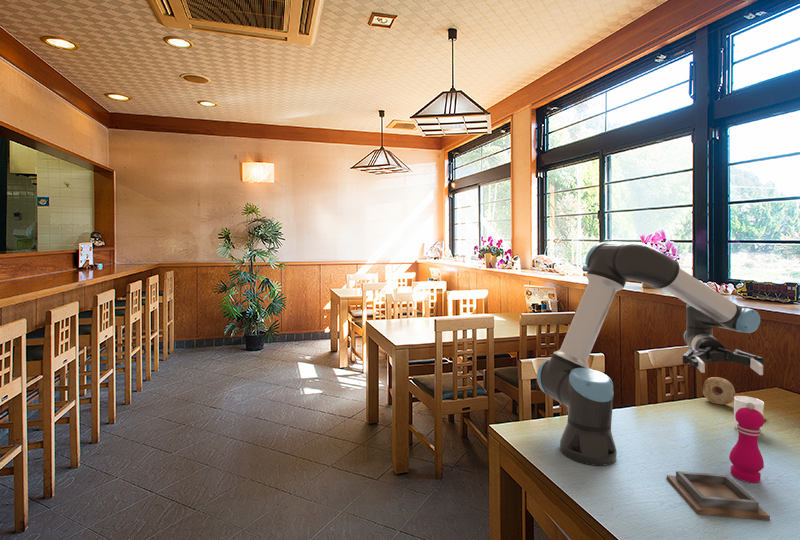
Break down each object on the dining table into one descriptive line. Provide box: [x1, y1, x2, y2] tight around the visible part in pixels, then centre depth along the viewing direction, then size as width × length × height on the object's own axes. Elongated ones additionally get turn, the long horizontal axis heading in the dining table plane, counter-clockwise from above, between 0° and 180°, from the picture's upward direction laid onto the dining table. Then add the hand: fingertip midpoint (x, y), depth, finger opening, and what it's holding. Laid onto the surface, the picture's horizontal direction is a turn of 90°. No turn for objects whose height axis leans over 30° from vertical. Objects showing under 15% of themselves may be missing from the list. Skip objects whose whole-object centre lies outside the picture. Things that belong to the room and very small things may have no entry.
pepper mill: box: [728, 403, 765, 484], centre depth 117 cm, size 7×7×20 cm
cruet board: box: [666, 470, 771, 521], centre depth 108 cm, size 15×15×3 cm
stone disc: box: [702, 376, 736, 405], centre depth 171 cm, size 10×4×10 cm, turn 39°
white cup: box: [733, 395, 765, 430], centre depth 148 cm, size 8×8×10 cm
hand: (731, 369), depth 124 cm, fingers open, 13 cm apart
